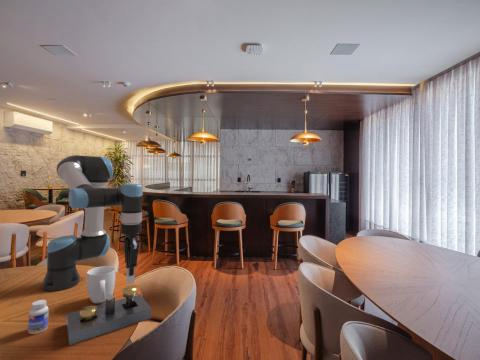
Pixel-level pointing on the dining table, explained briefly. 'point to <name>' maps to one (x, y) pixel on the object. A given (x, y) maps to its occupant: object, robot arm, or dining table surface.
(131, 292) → the far knob
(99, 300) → the mug
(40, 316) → the pill bottle
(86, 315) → the near knob
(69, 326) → the mount plate
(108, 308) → the pot post
